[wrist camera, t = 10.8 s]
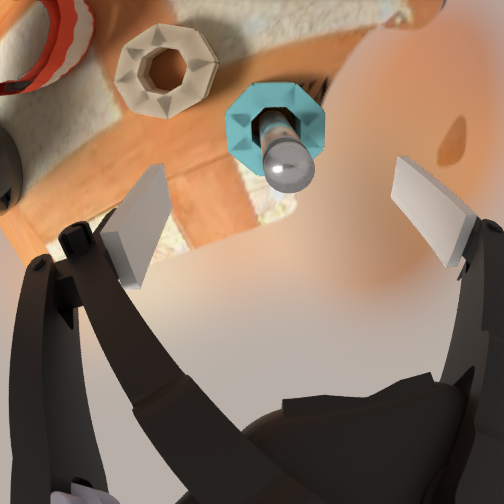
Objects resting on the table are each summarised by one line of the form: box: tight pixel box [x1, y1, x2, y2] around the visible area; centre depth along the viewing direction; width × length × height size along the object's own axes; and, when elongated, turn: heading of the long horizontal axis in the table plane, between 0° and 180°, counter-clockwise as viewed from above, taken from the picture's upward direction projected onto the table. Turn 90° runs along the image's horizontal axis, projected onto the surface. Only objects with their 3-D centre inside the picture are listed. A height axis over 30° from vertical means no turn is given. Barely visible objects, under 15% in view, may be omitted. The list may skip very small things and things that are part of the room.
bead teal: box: [225, 82, 325, 176], centre depth 26 cm, size 9×9×4 cm
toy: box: [0, 0, 95, 96], centre depth 16 cm, size 12×10×8 cm
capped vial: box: [259, 111, 315, 193], centre depth 22 cm, size 3×3×14 cm
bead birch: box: [114, 23, 219, 119], centre depth 22 cm, size 9×9×4 cm
